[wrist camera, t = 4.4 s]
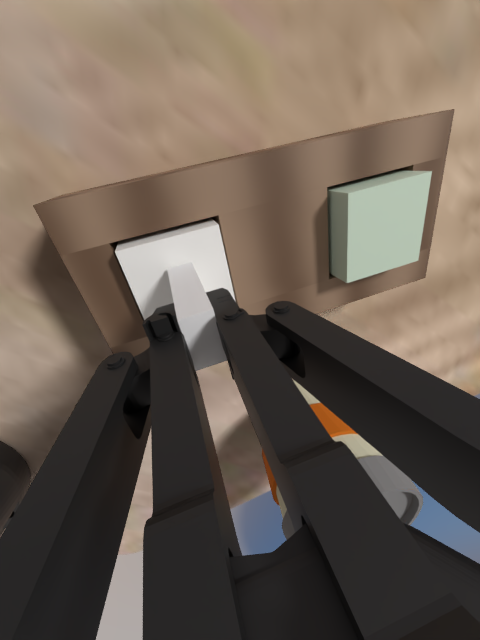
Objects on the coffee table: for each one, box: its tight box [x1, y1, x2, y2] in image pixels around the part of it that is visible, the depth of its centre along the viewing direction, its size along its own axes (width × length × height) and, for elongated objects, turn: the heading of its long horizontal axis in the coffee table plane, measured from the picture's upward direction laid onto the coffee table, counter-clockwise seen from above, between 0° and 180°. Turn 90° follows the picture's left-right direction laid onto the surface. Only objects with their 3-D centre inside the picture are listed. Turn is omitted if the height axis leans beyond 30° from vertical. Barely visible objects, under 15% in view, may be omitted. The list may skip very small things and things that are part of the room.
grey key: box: [115, 217, 236, 320], centre depth 20 cm, size 6×6×5 cm
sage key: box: [327, 170, 432, 283], centre depth 21 cm, size 6×6×5 cm
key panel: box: [33, 109, 454, 357], centre depth 22 cm, size 26×12×6 cm, turn 101°
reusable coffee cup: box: [262, 380, 423, 539], centre depth 30 cm, size 13×12×15 cm
